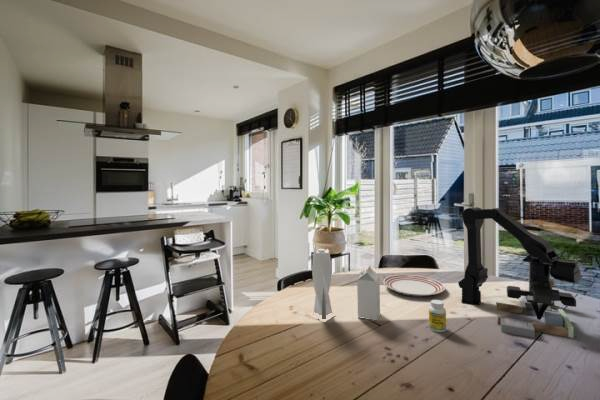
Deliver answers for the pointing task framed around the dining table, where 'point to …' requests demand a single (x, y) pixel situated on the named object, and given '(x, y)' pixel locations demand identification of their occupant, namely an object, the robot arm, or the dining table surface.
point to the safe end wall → (567, 323)
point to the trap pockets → (518, 329)
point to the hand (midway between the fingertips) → (538, 319)
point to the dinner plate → (414, 285)
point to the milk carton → (368, 294)
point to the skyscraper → (322, 281)
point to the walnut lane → (537, 326)
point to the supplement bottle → (437, 316)
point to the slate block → (553, 318)
